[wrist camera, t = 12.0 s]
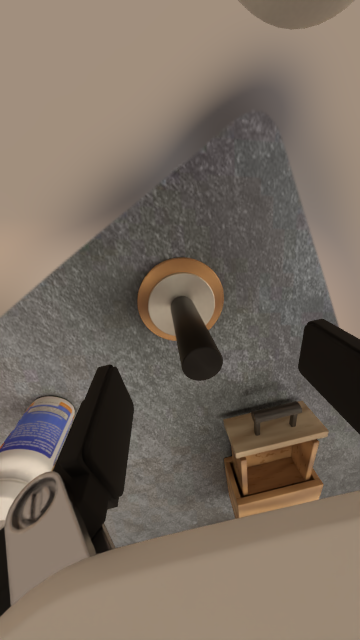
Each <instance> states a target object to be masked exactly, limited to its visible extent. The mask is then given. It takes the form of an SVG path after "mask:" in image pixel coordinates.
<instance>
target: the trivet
mask: <svg viewBox="0 0 360 640" xmlns="http://www.w3.org/2000/svg"><path fill="white" fill-rule="evenodd" d="M178 272H187V273H192V274H195V275H197V276H199V277H201V278H202V279H203V280H204V281H205V282H206V283H207V284H208V285H209V286H210V288H211V289H212V291H213V294H214V298H215V308H214V312H213V315H212V317H211V319H210V321H209V322H208V323H207V324H206V327H207V329H208V330H209V329H210V328H211V327H212V326H213V325H214V324H215V322H216V321H217V319H218V318H219V316H220V313H221V311H222V307H223V302H224V293H223V288H222V285H221V282H220V280H219V278H218V277H217V275H216V274H215V273H214V271H213V270H212V269H210V268H209V267H208V266H207V265H205V264H203V263H202V262H200V261H197V260H195V259H191V258H185V257H183V258H172V259H168V260H166V261H163V262H161V263H159V264H158V265H156V266H155V267H154V268H152V269H151V270H150V271H149V272H148V273H147V275H146V276H145V278H144V279H143V281H142V283H141V285H140V288H139V292H138V298H137V304H138V311H139V314H140V317H141V319H142V321H143V322H144V324H145V325H146V326H147V327H148V328H149V329H150V330H151V331H152V332H153V333H154V334H156V335H158V336H160V337H162V338H165V339H168V340H173V341H177V340H176V336H173V335H169V334H166V333H164V332H163V331H161V330H160V329H158V328H157V327H156V326H155V324H154V323H153V322H152V320H151V318H150V315H149V311H148V301H149V296H150V293H151V291H152V289H153V288H154V286H155V285H156V284H157V283H158V282H159V281H160V280H161V279H162V278H164V277H166V276H168V275H170V274H173V273H178Z"/></svg>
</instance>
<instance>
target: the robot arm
mask: <svg viewBox="0 0 360 640" xmlns="http://www.w3.org/2000/svg"><path fill="white" fill-rule="evenodd" d="M298 369H299V371H300V373H301V374H302V375H303V376H304V377H305V378H306V379H307V380H308V381H309V382H310V384H311V385H312V386H313V387H314V388H315V389H316V390H317V391H318V392H319V393H320V394H321V395H322V396H323V397H324V398H325V399H326V400H327V401H328V402H329V403H330V404H331V405H332V406H333V407H334V408H335V409H336V410H337V411H338V413H339V414H340V415H341V416H342V417H343V418H344V419H345V420H346V421H347V422H348V423H349V424H350V425H351V426H352V427H353V428H354V429H355V430H356V431H357V432H358V433H359V434H360V339H358V338H356V337H355V336H353V335H351V334H349V333H347V332H345V331H344V330H342V329H340V328H339V327H337V326H335V325H333V324H332V323H330V322H328V321H326V320H324V319H319V320H314V321H310V322H308V323H307V325H306V326H305V328H304V334H303V340H302V346H301V352H300V358H299V364H298ZM133 413H134V405H133V402H132V400H131V398H130V395H129V393H128V391H127V389H126V387H125V384H124V382H123V380H122V378H121V376H120V373H119V371H118V369H117V367H113V366H112V365H106V366H101V367H98V369H97V371H96V373H95V376H94V378H93V381H92V383H91V385H90V388H89V390H88V393H87V395H86V397H85V400H83V402H82V403H81V405H80V408H79V410H78V412H77V415H76V417H75V419H74V422H73V424H72V427H71V429H70V431H69V434H68V436H67V438H66V441H65V443H64V445H63V448H62V450H61V452H60V455H59V457H58V460H57V462H56V464H55V467H54V469H53V471H50V472H45V473H43V474H41V475H39V476H37V477H36V478H34V479H33V480H31V481H30V482H29V483H28V484H27V485H26V486H25V487H24V488H23V489H22V490H21V492H20V493H19V494H18V495H17V497H16V498H15V500H14V501H13V503H12V505H11V506H10V508H9V511H8V513H7V516H6V519H5V526H4V527H3V528H2V529H1V530H0V640H360V490H359V491H354V492H350V493H346V494H341V495H337V496H332V497H328V498H324V499H319V500H315V501H311V502H306V503H302V504H298V505H293V506H289V507H285V508H280V509H276V510H272V511H267V512H263V513H259V514H254V515H250V516H246V517H241V518H237V519H233V520H229V521H224V522H220V523H216V524H212V525H207V526H203V527H199V528H195V529H190V530H186V531H182V532H178V533H173V534H169V535H165V536H161V537H158V538H154V539H150V540H146V541H142V542H138V543H134V544H131V545H127V546H123V547H119V548H115V546H114V543H113V541H112V539H111V537H110V535H109V533H108V531H107V528H106V526H105V524H104V522H105V518H106V513H107V509H110V508H115V507H118V500H119V497H120V496H122V494H123V491H124V484H125V476H126V468H127V460H128V452H129V445H130V437H131V429H132V421H133Z"/></svg>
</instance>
